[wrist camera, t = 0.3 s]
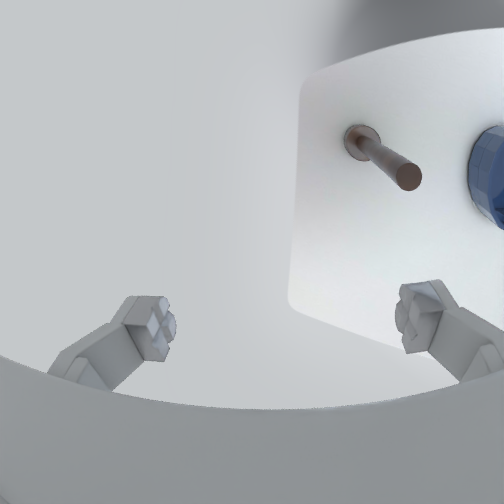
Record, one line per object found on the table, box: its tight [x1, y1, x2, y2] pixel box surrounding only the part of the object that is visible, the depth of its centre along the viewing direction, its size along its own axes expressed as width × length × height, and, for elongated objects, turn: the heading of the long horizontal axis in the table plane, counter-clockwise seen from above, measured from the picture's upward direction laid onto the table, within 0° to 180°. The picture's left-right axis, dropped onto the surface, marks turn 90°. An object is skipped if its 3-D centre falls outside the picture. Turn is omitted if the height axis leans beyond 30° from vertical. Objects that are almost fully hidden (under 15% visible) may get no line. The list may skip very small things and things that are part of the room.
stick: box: [344, 125, 422, 191], centre depth 24 cm, size 4×4×18 cm
